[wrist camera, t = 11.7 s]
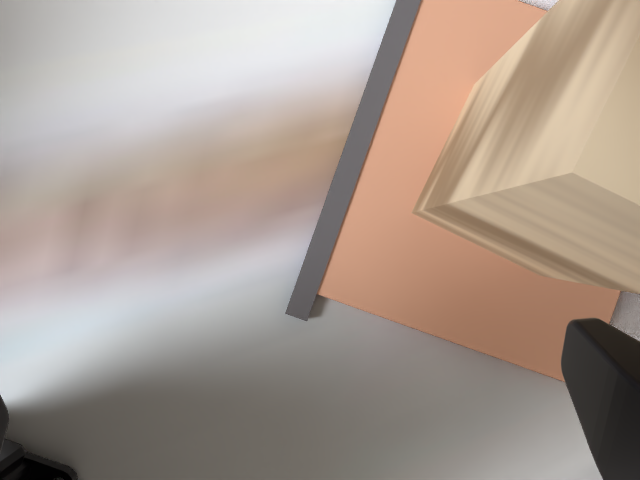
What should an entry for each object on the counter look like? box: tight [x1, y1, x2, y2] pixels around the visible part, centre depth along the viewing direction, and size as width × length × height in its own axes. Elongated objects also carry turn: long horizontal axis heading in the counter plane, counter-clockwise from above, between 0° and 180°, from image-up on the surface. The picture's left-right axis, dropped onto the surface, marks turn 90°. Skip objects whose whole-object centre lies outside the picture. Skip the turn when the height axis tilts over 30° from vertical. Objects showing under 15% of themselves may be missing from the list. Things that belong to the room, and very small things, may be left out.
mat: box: [285, 0, 621, 382], centre depth 20 cm, size 14×11×1 cm
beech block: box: [411, 0, 640, 294], centre depth 14 cm, size 5×5×13 cm
